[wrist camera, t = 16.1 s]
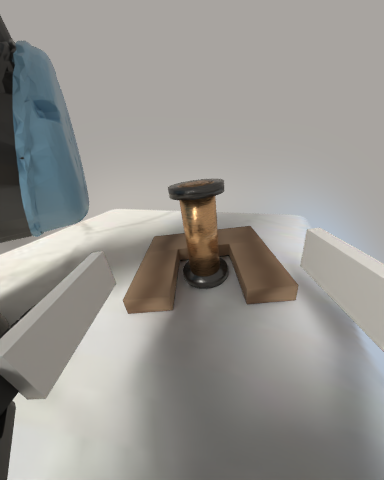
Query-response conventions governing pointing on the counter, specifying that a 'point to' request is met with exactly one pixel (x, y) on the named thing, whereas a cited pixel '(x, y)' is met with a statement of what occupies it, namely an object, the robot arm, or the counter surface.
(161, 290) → the notched board
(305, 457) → the counter surface
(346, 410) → the counter surface
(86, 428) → the counter surface
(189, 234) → the bobbin
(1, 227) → the robot arm
